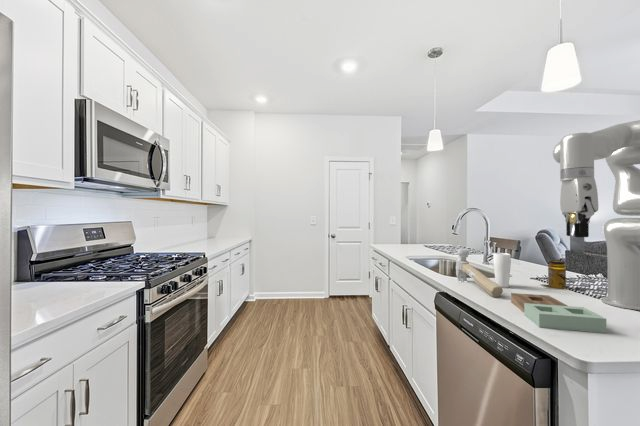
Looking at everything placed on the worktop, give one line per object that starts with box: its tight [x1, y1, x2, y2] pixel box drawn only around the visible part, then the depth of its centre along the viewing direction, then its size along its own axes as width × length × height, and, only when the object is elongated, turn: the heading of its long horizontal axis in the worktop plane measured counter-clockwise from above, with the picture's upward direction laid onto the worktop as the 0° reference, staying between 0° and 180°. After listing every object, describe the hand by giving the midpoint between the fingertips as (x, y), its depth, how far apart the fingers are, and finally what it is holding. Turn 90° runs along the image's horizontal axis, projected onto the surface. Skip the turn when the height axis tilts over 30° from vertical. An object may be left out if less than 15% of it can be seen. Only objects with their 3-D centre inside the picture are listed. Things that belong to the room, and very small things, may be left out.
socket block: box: [510, 292, 568, 313], centre depth 98 cm, size 12×12×4 cm
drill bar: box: [569, 213, 585, 255], centre depth 84 cm, size 3×3×12 cm
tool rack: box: [523, 303, 607, 334], centre depth 85 cm, size 16×10×4 cm, turn 74°
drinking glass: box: [492, 252, 512, 289], centre depth 128 cm, size 7×7×15 cm
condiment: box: [540, 259, 570, 291], centre depth 126 cm, size 7×8×12 cm
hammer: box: [455, 247, 504, 298], centre depth 125 cm, size 16×5×30 cm
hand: (577, 235), depth 84 cm, fingers closed on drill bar, 3 cm apart
